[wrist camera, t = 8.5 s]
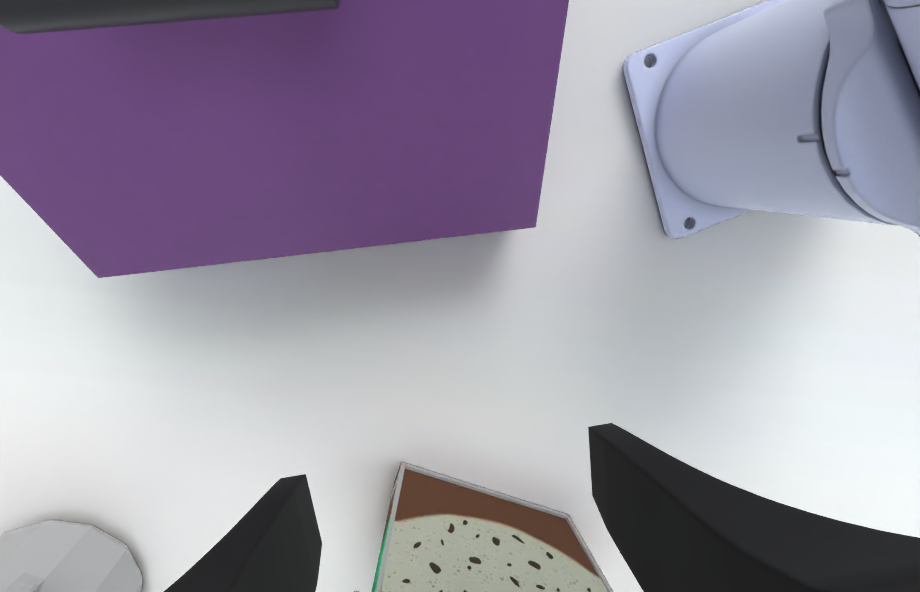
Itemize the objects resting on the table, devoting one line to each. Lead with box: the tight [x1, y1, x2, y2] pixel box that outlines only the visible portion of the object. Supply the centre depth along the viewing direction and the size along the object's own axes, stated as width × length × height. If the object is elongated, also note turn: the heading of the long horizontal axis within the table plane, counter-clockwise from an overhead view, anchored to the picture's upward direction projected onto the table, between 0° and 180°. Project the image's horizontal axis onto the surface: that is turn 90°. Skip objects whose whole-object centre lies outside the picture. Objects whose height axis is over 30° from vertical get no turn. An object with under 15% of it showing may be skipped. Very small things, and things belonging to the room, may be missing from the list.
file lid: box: [0, 0, 569, 278], centre depth 11 cm, size 12×15×4 cm
